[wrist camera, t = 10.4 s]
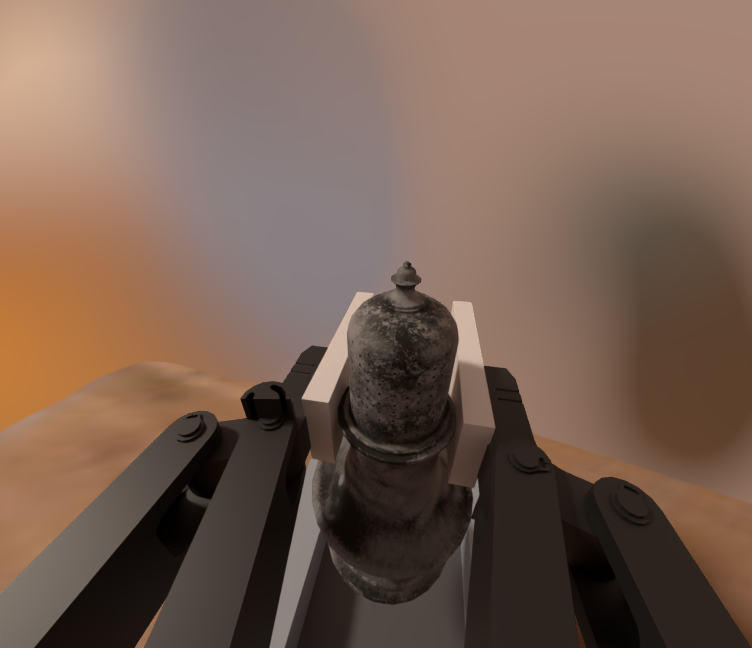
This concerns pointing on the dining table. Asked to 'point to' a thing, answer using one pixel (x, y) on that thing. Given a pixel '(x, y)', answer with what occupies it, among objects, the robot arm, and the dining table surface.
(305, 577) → the socket block
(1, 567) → the dining table surface
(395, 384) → the salt shaker
